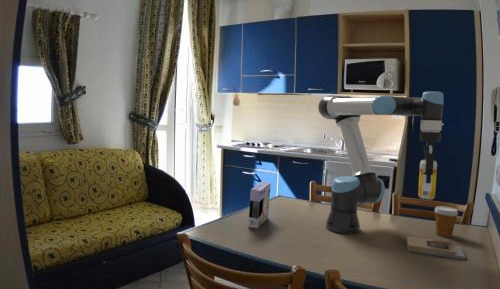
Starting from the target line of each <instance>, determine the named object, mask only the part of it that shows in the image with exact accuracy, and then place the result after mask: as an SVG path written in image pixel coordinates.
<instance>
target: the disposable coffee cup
mask: <svg viewBox="0 0 500 289" xmlns="http://www.w3.org/2000/svg"><path fill="white" fill-rule="evenodd" d="M434 214H435V234H436V235H437V236H440V237H444V238H452V237H453V232H454V228H455V225H456V220H457V216H458V215H459V212H458V209H457V208H455V207H450V206H446V205H445V206H444V205H442V206H441V205H440V206H439V205H438V206H435V208H434Z"/></svg>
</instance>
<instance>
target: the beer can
mask: <svg viewBox="0 0 500 289" xmlns="http://www.w3.org/2000/svg"><path fill="white" fill-rule="evenodd" d="M425 169H426V160H425V159H421V160H420V162H419V176H418V193H417V196H418V197H419V199H423V200H434V198H436V189H437V188H436V187H437V185H436V184H437V173H438V172H437V170H438V163H437V160H434V162H433V174H432V190H431V192H429V191H424V177H425V174H423V173H425Z"/></svg>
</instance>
